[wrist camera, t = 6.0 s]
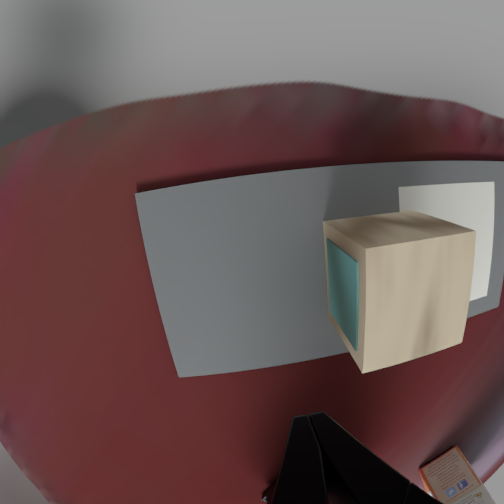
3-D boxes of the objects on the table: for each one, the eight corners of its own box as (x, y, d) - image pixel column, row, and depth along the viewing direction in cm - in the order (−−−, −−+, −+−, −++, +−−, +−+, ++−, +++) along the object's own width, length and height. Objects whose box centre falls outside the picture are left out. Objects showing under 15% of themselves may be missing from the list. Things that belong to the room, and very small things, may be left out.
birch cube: (321, 221, 17) (414, 210, 18) (326, 317, 19) (412, 299, 19) (363, 249, 12) (477, 230, 12) (360, 374, 13) (462, 342, 13)
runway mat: (504, 161, 18) (508, 161, 17) (495, 304, 21) (498, 306, 20) (136, 193, 17) (134, 193, 16) (179, 374, 20) (179, 377, 19)
